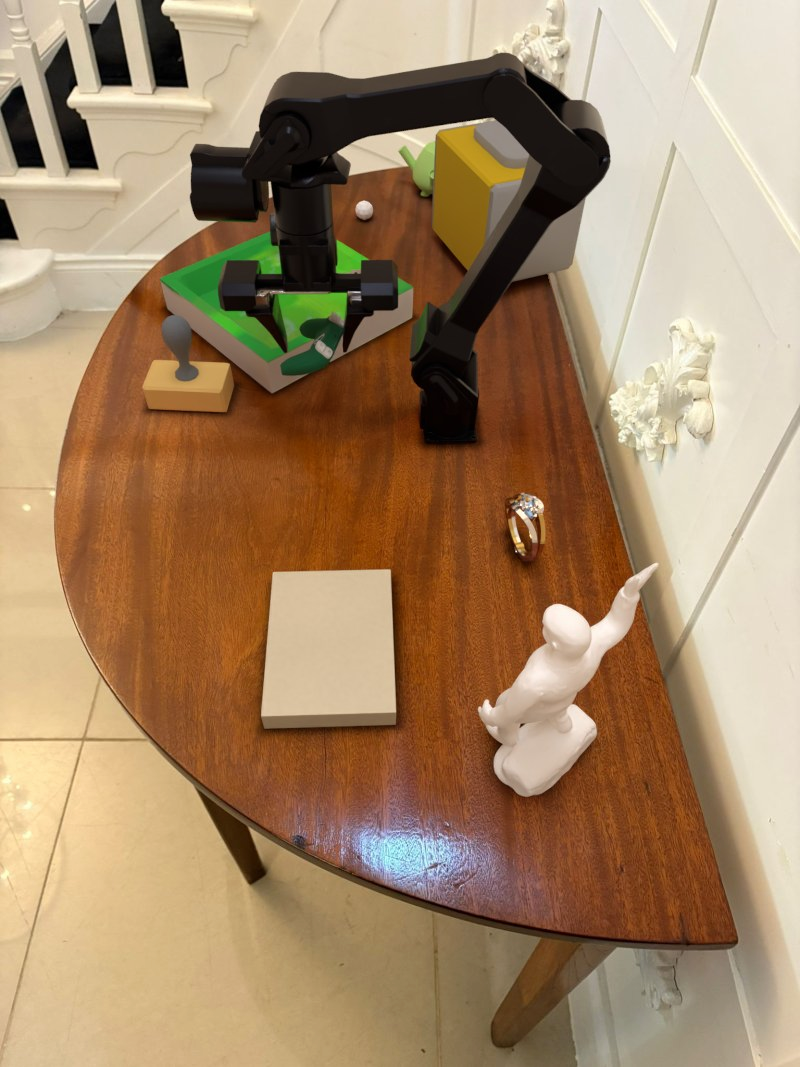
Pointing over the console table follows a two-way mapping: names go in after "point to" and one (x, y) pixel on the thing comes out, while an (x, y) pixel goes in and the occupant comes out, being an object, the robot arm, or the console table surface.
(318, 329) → the green curved piece
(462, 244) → the alarm clock
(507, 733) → the figurine
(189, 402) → the rubber stamp
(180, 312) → the tray
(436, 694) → the console table surface
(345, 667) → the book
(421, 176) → the teapot
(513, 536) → the ring
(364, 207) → the polyhedron
